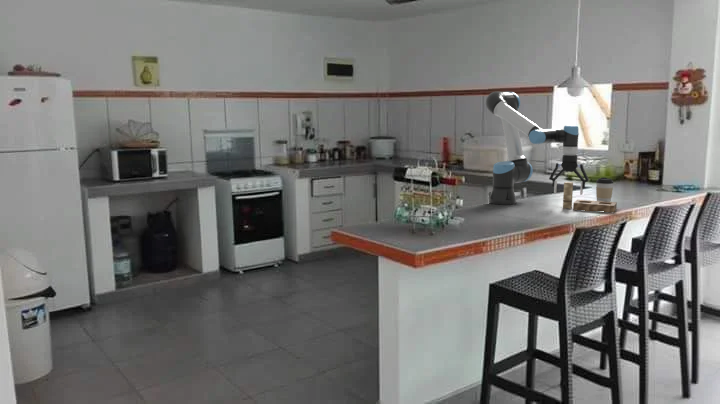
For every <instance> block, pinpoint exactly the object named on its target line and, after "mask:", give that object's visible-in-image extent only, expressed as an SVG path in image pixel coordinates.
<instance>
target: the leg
mask: <svg viewBox="0 0 720 404" xmlns="http://www.w3.org/2000/svg"><path fill="white" fill-rule="evenodd" d="M573 189H574V182H573V181H565V182H563V195H562V197H563V199H562V209H567V208H568V209H569V210H570V209H573V195H574V194H573V192H574V190H573Z"/></svg>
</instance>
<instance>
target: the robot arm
mask: <svg viewBox="0 0 720 404" xmlns="http://www.w3.org/2000/svg"><path fill="white" fill-rule="evenodd" d="M520 106H521V99H520V97H519V95H518V94H517V93H515V92H514V91H492V92H490V93H489V94H488V95H487V97H486V99H485V107H486V109H487V110H488V112H490V113H492V114H493V115H494V116H496V117H498V118H500V120H501V125H502V129H503V130H502V131H503V136H504V141H505V148H506V152H507V158H508V159H507V160H504V161H498V162H496V163H494V164H493V168H492V188H491V192H490V195H489V199H488V201H489V203H490V204H494V205H505V206H506V205H507V206H508V205H516V204H517V197H516V194H515V191H514V184H518V183H521V184H522V183H524V182H528V181H529V180H530V179H531V177H532V175H533V171H534V169H533V166H532V164H531V163H530V162H528V159H527V157H526V156H525V155H524V153H523V147H522V140H521V136H520V132H522V134H524V135H525V136H527V137H528V139H529V141H530V143H531V144H533V145H542V144H555V143H556V144H562V160H561V163H559V162H557V163H555V167H554V169H553V171H552V172H551V175H550V176H549V178H548V179H549V180H550V181H552V187H553V194H556V193H557V189H558V188H557V186H558V185H557V184H558V181H557V179H558V178H559V177H561V175H562V174H563V173H564V172H566V173H568V172H569V173H572V172H573V173H575V175H576V176H577V178H579V180H580V181H581V182H580V191H579V192H580V193H579V194H580V196H581V195H583V192H584V190H583V189H586V182H589V181H590V179H589V177H588V174H587V173H586V172H587V171H585V168H584V164H583V163H580V164H579V163H578V152H579V151H578V149H579V147H578V146H579V135H580V133H579V126H578V125H564V126H563V128H562V129H561V128H545V129H543V128H542V127H539V126H538V125H537V124H536V123H534V122H533V121H531V120H530V119H528V118H527V117H525V116H524V115H522V114H521V113H520V112H519V109H520ZM560 167H561V168H562V169H561V170H560V171H559V172H558V173H557V171H558V169H559V168H560ZM577 168H579V169H580V171H581V173H582V175H581V173H580V172H579V171H578V169H577ZM556 173H557V174H556Z"/></svg>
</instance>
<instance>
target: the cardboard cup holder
mask: <svg viewBox="0 0 720 404" xmlns="http://www.w3.org/2000/svg"><path fill="white" fill-rule="evenodd" d="M617 203H618V202H617V201H611V202H606V201H597V200H591V199H588V200H587V199H576V200H574V202H572V211H576V210H585V211H584V212H590V211H604V212H614V211H615V210H616V211H617ZM616 211H615V212H616ZM615 212H614V213H615Z"/></svg>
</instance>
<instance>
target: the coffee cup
mask: <svg viewBox="0 0 720 404" xmlns="http://www.w3.org/2000/svg"><path fill="white" fill-rule="evenodd" d="M614 182H615V181H614V180H612V178H608V177H600V178H597V180H596V182H595V183H596V187H595V188H596V190H595V191H596V193H595V195H596V196H595V197H596V201H606V202H612V197H613V190H614Z"/></svg>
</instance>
